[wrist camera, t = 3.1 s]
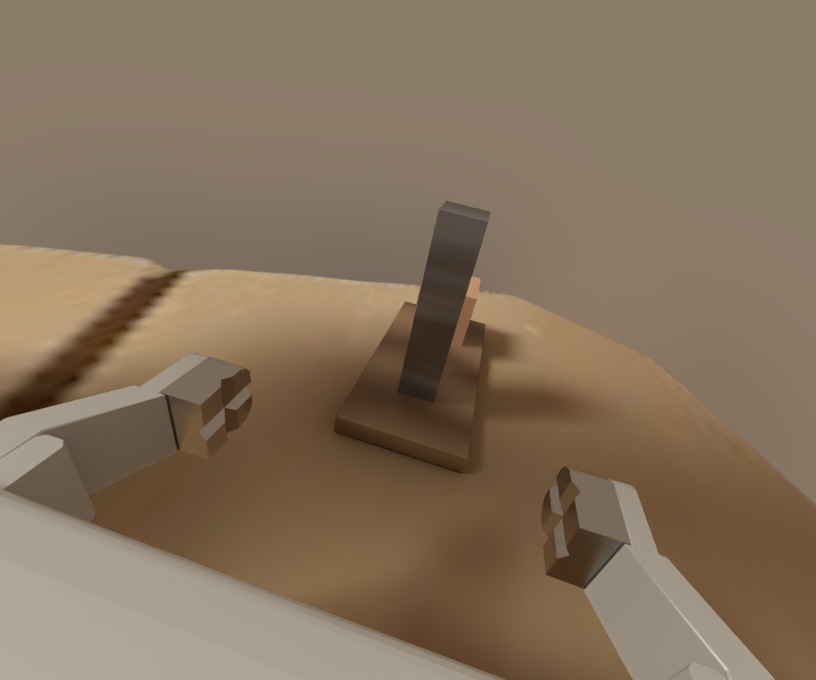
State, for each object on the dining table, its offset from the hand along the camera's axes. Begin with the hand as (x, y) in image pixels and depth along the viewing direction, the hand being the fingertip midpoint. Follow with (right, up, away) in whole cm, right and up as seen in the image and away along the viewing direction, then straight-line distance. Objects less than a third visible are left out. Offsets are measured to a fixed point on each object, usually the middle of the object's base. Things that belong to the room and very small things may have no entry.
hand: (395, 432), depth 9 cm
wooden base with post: (+2, 0, +20) cm, 20 cm away
